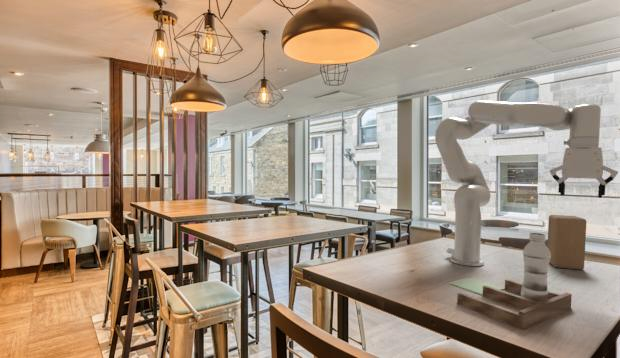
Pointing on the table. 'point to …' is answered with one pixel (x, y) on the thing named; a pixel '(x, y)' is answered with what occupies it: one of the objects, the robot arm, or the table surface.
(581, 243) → the block
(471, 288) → the mat
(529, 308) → the bottle rack
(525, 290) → the plastic bottle
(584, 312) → the table surface
